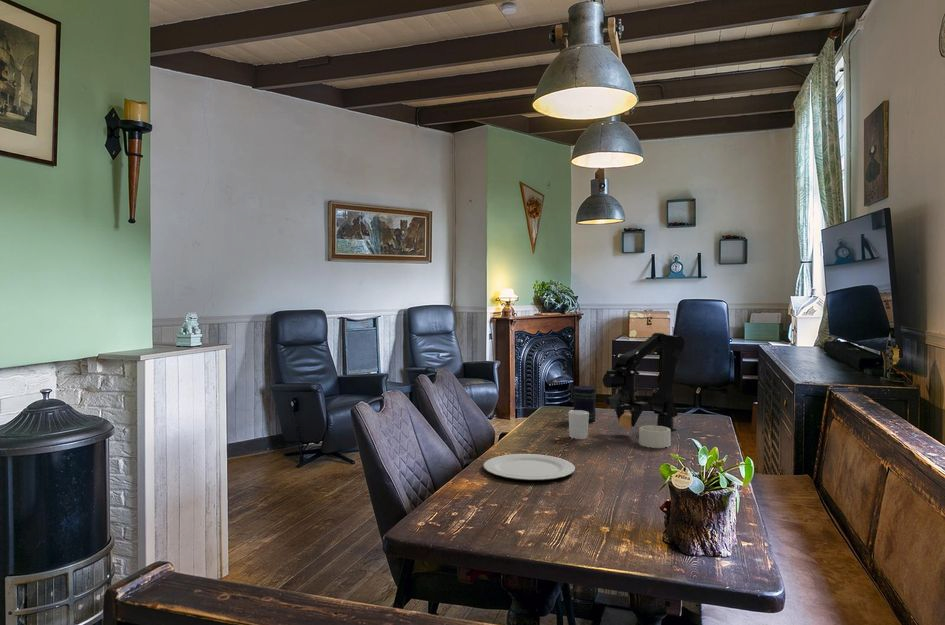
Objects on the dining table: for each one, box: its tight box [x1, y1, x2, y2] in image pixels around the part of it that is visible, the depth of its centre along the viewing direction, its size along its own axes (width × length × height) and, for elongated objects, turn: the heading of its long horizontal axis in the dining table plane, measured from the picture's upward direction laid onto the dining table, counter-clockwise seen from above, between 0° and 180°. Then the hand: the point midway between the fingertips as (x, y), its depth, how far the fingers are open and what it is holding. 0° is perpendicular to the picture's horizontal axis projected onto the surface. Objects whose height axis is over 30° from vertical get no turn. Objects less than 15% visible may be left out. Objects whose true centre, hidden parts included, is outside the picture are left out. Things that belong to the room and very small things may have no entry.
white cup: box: [568, 410, 589, 440], centre depth 245 cm, size 8×8×10 cm
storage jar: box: [572, 385, 597, 424], centre depth 276 cm, size 10×10×15 cm
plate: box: [483, 453, 576, 482], centre depth 199 cm, size 29×29×2 cm
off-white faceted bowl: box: [638, 424, 672, 449], centre depth 234 cm, size 11×11×6 cm
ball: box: [618, 412, 632, 430], centre depth 250 cm, size 6×6×6 cm
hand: (626, 425), depth 250 cm, fingers closed on ball, 6 cm apart
